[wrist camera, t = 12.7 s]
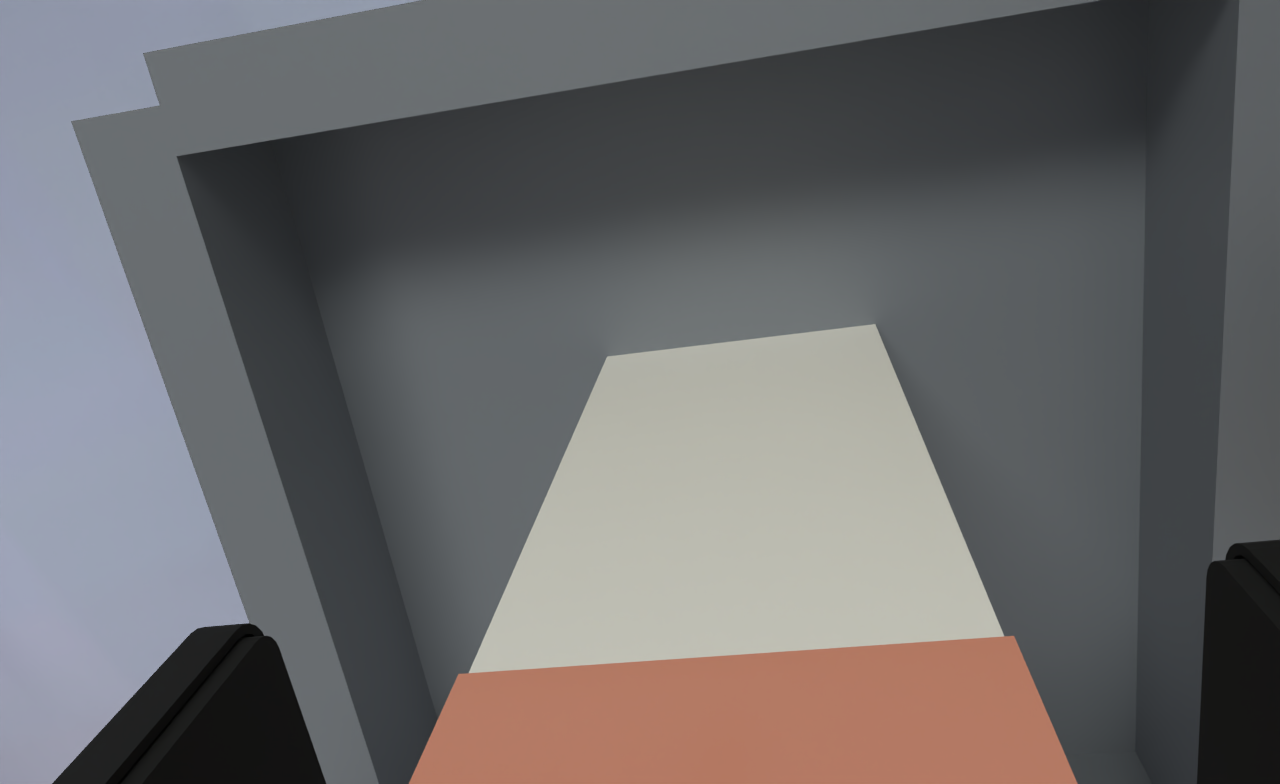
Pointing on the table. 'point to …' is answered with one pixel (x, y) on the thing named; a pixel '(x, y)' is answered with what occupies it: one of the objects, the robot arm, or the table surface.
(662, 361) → the block
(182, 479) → the table surface
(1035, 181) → the tray
